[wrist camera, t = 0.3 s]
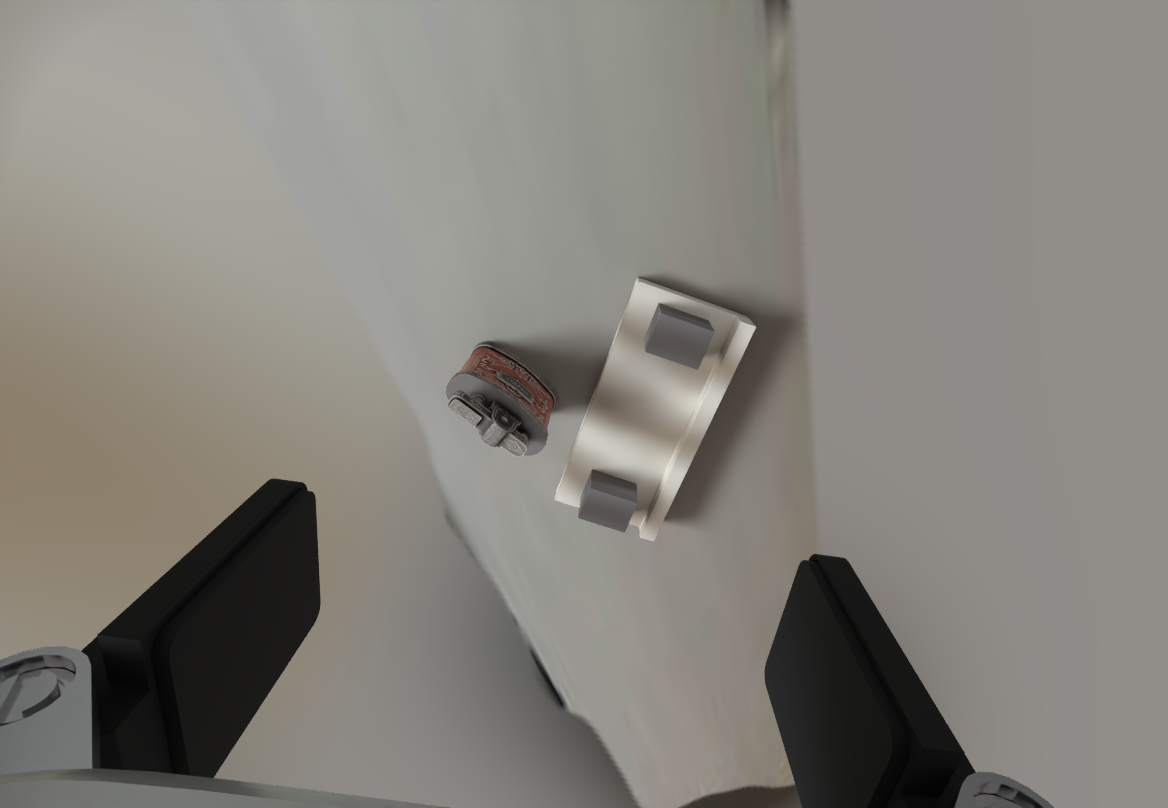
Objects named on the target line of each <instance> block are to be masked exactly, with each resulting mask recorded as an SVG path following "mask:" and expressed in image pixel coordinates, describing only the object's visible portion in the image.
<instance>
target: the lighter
mask: <svg viewBox="0 0 1168 808" xmlns="http://www.w3.org/2000/svg"><path fill="white" fill-rule="evenodd" d="M446 394H447V398H448V399H449V402H448V404H447V406H448V408H449V409H450V410H451V411H453V412H454V413H455V414H457V415H458V416H459V417H461V418H462V419H464V420H465V421H466V422H468V423H469V424H470V425H472V426H473V427H475V428H476V429H477V430H479V433H480V435H481V437H482V439H483V440H484V441H485V442H486V443H487V444H489V445H490V446H493V447H496V446H497V447H500V446H501V447H502V448H503V449H505V450H506V451H508V452H509V453H510V454H512V455H513V456H515V457H518V458H519V457H522V456H523V455H534V454H537V453H539V452H540V451H541V450H542V449H543V448H544V446H545V445H546V441H547V436H548V432H547V427H548V423H549V419H550V415H551V412H552V411H553V409H554V408H555V404H556V400H557V396H556V393H555V391H554V389H553V388H552V387H551V386H550V385H549V384H548V383H547V382H546V380H545V379H544V378H543V377H542V376H541V375H540V374H539V373H538V372H536V371H535V370H534V369H533V368H532V367H531V366H530V365H529V364H527V363H526V362H525V361H523V360H522V359H520V358H519V357H517V356H516V355H514V354H513V353H511V352H510V351H508V350H506V349H504V348H502V347H500V346H498V345H496V344H494V343H492V342H489V341H486V342H481V343H479V344H478V345H476V346H475V347H474V349H473V350H472V352H471V353H470V355H469V359H468V361H467V362H466V363H465V365H464V366H463V368H462V369H461V370H460V372H458V373H456V374H455V375H454V376H453V377H452V378H451V380H450V381H449V383H448V385H447V389H446Z"/></svg>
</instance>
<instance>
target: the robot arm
mask: <svg viewBox="0 0 1168 808" xmlns="http://www.w3.org/2000/svg"><path fill="white" fill-rule="evenodd" d="M318 562H319V561H318V540H317V519H316V499H315V495H314V493H313V492H311V491H307V487H306V485H305V484H304V483H302V482H295V481H288V480H281V479H270V480H269V481H267V482H266V483H265V484H264V485H263V486H262V487H261V488H259V489H258V490H257V491H256V492H255V493H254V494H253V495H252V496H251V497H250V498H248V499H247V500H246V501H245V502H244V503H243V504H242V505H241V506H239V508H237V509H236V510H235V511H234V512H233V513H232V514H231V515H230V516H228V517H227V518H226V519H225V520H224V521H223V522H222V523H221V524H220V525H218V526H217V527H216V528H215V529H214V530H213V531H212V532H211V533H210V534H209V535H207V536H206V537H205V538H204V539H203V540H202V541H201V542H200V543H199V544H198V545H196V546H195V547H194V548H193V549H192V550H191V551H190V552H189V553H188V554H186V555H185V556H184V557H183V558H182V559H181V560H180V561H179V562H178V563H176V564H175V565H174V566H173V567H172V568H171V569H170V570H169V571H168V572H167V573H166V574H164V575H163V576H162V577H161V578H160V579H159V580H158V581H157V582H156V583H154V584H153V585H152V586H151V587H150V588H149V589H148V590H147V591H146V592H144V593H143V594H142V595H141V596H140V597H139V598H138V599H137V600H136V601H134V602H133V603H132V604H131V605H130V606H129V607H128V608H127V609H126V610H125V611H123V612H122V613H121V614H120V615H119V616H118V617H117V618H116V619H115V620H113V621H112V622H111V623H110V624H109V625H108V626H107V627H106V628H105V629H103V630H102V631H101V632H100V633H99V634H98V636H97V637H96V638H95V639H94V640H93V641H92V642H91V643H90V644H88V645H87V646H86V647H85V648H84V649H83V650H82V651H80V650H78V649H74V648H69V647H65V646H56V647H42V648H37V649H33V650H28V651H23V652H20V653H18V654H15V655H12V656H9V657H7V658H4V659H1V660H0V808H447V807H441V806H433V805H425V804H418V803H410V802H402V801H395V800H386V799H379V798H371V797H363V796H355V795H348V794H339V793H332V792H324V791H316V790H309V789H301V788H293V787H285V786H277V785H269V784H261V783H253V782H244V781H234V780H225V779H215V778H214V776H215V775H216V773H217V772H218V770H219V768H220V767H221V765H222V764H223V762H224V761H225V759H226V758H227V756H228V755H229V753H230V751H231V750H232V749H233V747H234V746H235V744H236V742H237V741H238V739H239V738H240V736H241V735H242V733H243V732H244V730H245V729H246V727H247V726H248V724H249V723H250V721H251V720H252V718H253V717H254V715H255V714H256V712H257V710H258V709H259V707H260V706H261V704H262V703H263V701H264V700H265V698H266V697H267V695H268V694H269V692H270V691H271V689H272V688H273V686H274V685H275V683H276V681H277V680H278V678H279V677H280V675H281V674H282V672H283V671H284V669H285V668H286V666H287V665H288V663H289V662H290V660H291V658H292V657H293V656H294V654H295V652H296V651H297V649H298V648H299V646H300V645H301V643H302V642H303V640H304V638H305V637H306V636H307V634H308V632H309V631H310V630H311V628H312V626H313V625H314V623H315V621H316V619H317V617H318V614H319V610H320V582H319V563H318ZM765 684H766V688H767V691H768V694H769V698H770V701H771V704H772V708H773V711H774V714H775V718H776V721H777V724H778V728H779V731H780V734H781V738H782V741H783V744H784V747H785V751H786V754H787V757H788V761H789V764H790V767H791V771H792V774H793V777H794V781H795V784H796V787H797V791H798V794H799V797H800V801H801V804H802V807H803V808H1054V807H1053V806H1052V805H1051V804H1050V803H1049V802H1048V801H1046V800H1045V799H1044V798H1042V797H1041V796H1039V795H1038V794H1037V793H1035V792H1034V791H1033V790H1031V789H1030V788H1028V787H1026V786H1024V785H1022V784H1021V783H1019V782H1017V781H1015V780H1013V779H1011V778H1009V777H1005V776H1002V775H999V774H996V773H991V772H977V773H976V772H975V770H974V769H973V767H972V766H971V764H970V762H969V761H968V759H967V757H966V756H965V754H964V751H963V750H962V748H961V746H960V745H959V743H958V741H957V740H956V738H955V736H954V735H953V733H952V731H951V730H950V728H949V726H948V725H947V723H946V722H945V720H944V718H943V717H942V715H941V713H940V712H939V710H938V708H937V707H936V705H935V703H934V702H933V700H932V698H931V697H930V695H929V694H928V692H927V690H926V689H925V687H924V685H923V684H922V682H921V680H920V679H919V677H918V675H917V674H916V672H915V670H914V669H913V667H912V666H911V664H910V663H909V661H908V659H907V657H906V656H905V654H904V653H903V651H902V649H901V647H900V646H899V644H898V642H897V641H896V639H895V638H894V636H893V634H892V633H891V631H890V629H889V628H888V626H887V624H886V623H885V621H884V619H883V618H882V616H881V614H880V613H879V611H878V610H877V608H876V606H875V605H874V603H873V601H872V600H871V598H870V596H869V595H868V593H867V591H866V590H865V588H864V587H863V585H862V583H861V582H860V580H859V578H858V577H857V575H856V574H855V572H854V570H853V568H852V567H851V565H850V563H849V562H848V561H847V560H846V559H845V558H840V557H833V556H826V555H819V554H814V555H812V556H811V557H810V558H809V561H807V560H803V561H802V562H801V563H800V565H799V567H798V570H797V573H796V576H795V579H794V582H793V585H792V588H791V591H790V593H789V596H788V599H787V602H786V605H785V608H784V611H783V614H782V617H781V620H780V623H779V626H778V629H777V632H776V635H775V638H774V641H773V644H772V647H771V650H770V653H769V656H768V659H767V662H766V666H765Z"/></svg>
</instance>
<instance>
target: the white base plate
mask: <svg viewBox="0 0 1168 808" xmlns="http://www.w3.org/2000/svg"><path fill="white" fill-rule="evenodd" d="M755 329H756V326H755V325H754V324H753V322H752V321H751V320H750V319H749V317H748V316H746V315H743V314H740V313H737V312H734V311H731V310H729V309H726V308H723V307H720V306H717V305H715V304H712V303H709V302H706V301H703V300H701V299H698V298H695V297H692V296H689V295H687V294H684V293H681V292H678V291H675V290H673V289H670V288H667V287H664V286H661V285H658V284H656V283H653V282H650V281H647V280H644V279H642V278H639V277H637V279H636V282H635V284H634V287H633V290H632V292H631V295H630V297H629V300H628V303H627V305H626V308H625V311H624V313H623V316H622V319H621V321H620V324H619V327H618V329H617V332H616V335H615V337H614V340H613V342H612V345H611V348H610V350H609V353H608V356H607V358H606V361H605V364H604V366H603V369H602V372H601V374H600V377H599V380H598V382H597V385H596V387H595V390H594V393H593V395H592V398H591V401H590V403H589V406H588V409H587V411H586V414H585V417H584V419H583V422H582V425H581V427H580V430H579V432H578V435H577V438H576V440H575V443H574V446H573V448H572V451H571V454H570V456H569V459H568V462H567V464H566V467H565V470H564V472H563V475H562V477H561V480H560V483H559V485H558V488H557V491H556V496H555V500H556V501H559V502H562V503H566V504H569V505H572V506H575V507H578V508H579V516H578V518H580V519H583V520H586V521H590V522H593V523H596V524H599V525H602V526H605V527H609V528H612V529H615V530H618V531H621V532H624V533H625V531H626V528H627V526H628V524H632V525H635V526H638V527H640V538H644V539H647V540H650V541H654V539H655V537H656V535H657V533H658V531H659V529H660V527H661V525H662V523H663V520H664V518H665V516H666V514H667V512H668V510H669V508H670V506H671V504H672V502H673V500H674V498H675V495H676V493H677V491H678V489H679V487H680V485H681V483H682V481H683V479H684V477H685V475H686V473H687V470H688V468H689V466H690V464H691V462H692V460H693V458H694V456H695V454H696V452H697V450H698V447H699V445H700V443H701V441H702V439H703V437H704V435H705V433H706V431H707V429H708V427H709V425H710V422H711V420H712V418H713V416H714V414H715V412H716V410H717V408H718V406H719V404H720V402H721V400H722V397H723V395H724V393H725V391H726V389H727V387H728V385H729V383H730V381H731V379H732V377H733V375H734V372H735V370H736V368H737V366H738V364H739V362H740V360H741V358H742V356H743V354H744V352H745V349H746V347H747V345H748V343H749V341H750V339H751V337H752V335H753V333H754V331H755Z"/></svg>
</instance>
